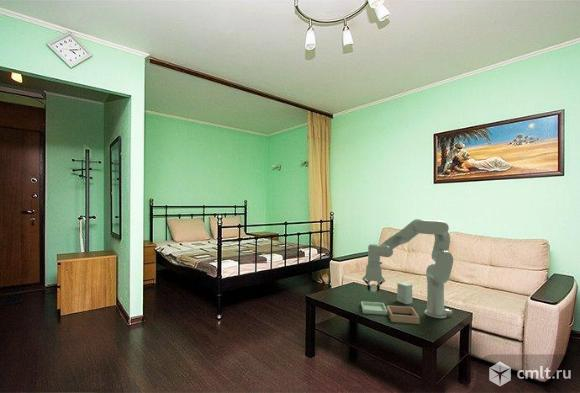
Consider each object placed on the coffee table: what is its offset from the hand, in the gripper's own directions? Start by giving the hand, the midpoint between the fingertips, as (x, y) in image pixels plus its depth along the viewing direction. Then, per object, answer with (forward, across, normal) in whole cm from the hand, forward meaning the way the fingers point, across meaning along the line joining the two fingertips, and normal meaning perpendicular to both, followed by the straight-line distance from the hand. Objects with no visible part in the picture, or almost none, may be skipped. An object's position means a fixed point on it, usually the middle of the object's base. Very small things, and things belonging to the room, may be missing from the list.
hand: (373, 290), depth 183 cm
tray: (+13, 0, 0) cm, 13 cm away
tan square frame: (+12, -16, +9) cm, 22 cm away
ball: (-2, 0, 0) cm, 2 cm away
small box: (+13, -24, -20) cm, 34 cm away
